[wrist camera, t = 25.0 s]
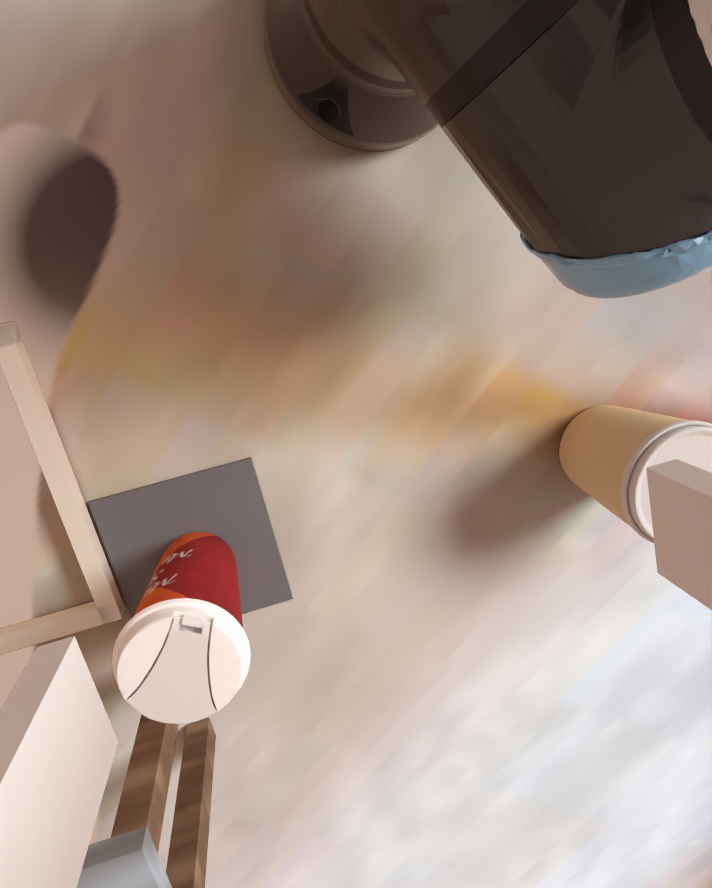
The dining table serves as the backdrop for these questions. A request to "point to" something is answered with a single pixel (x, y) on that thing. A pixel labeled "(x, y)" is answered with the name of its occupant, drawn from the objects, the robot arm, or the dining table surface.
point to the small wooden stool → (158, 814)
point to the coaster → (194, 530)
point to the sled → (10, 353)
